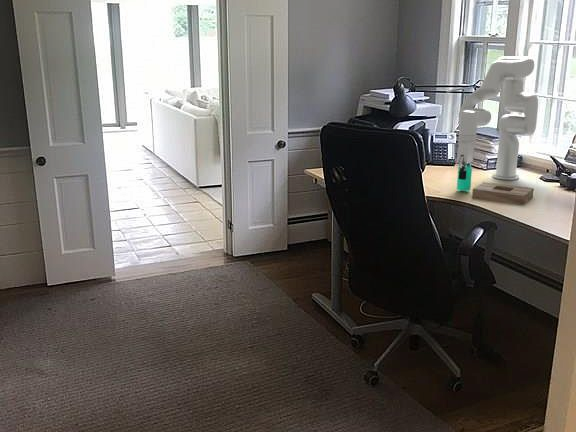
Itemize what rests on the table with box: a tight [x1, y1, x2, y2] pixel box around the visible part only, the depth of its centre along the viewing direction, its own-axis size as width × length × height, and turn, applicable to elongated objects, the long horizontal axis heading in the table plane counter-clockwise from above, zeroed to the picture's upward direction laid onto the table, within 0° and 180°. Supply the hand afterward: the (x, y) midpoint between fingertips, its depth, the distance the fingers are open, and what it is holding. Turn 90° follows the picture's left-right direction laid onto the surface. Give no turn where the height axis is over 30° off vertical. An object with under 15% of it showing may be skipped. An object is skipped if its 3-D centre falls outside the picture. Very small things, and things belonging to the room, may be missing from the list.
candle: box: [456, 166, 473, 192], centre depth 278 cm, size 6×6×12 cm
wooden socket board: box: [471, 181, 535, 206], centre depth 270 cm, size 16×22×4 cm
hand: (464, 177), depth 278 cm, fingers closed on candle, 4 cm apart
